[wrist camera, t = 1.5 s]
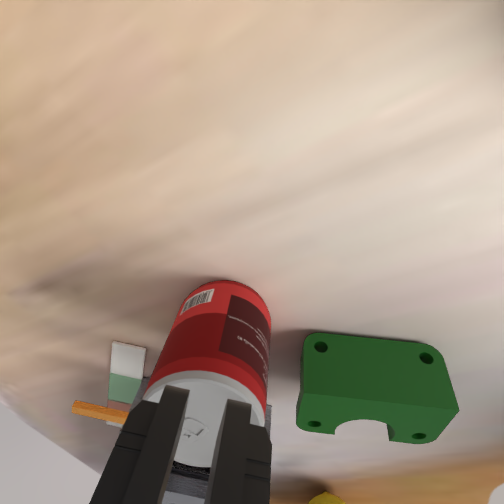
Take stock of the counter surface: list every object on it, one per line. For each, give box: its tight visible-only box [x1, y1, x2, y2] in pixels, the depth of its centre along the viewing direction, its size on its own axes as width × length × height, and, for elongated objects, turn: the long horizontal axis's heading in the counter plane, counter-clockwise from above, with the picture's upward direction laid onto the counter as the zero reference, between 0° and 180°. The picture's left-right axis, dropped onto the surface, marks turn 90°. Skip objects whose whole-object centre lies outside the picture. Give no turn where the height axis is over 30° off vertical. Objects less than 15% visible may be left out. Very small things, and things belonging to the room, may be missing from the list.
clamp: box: [296, 333, 459, 444], centre depth 33 cm, size 12×6×9 cm, turn 80°
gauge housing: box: [120, 377, 271, 504], centre depth 38 cm, size 12×14×8 cm
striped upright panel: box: [107, 341, 146, 428], centre depth 38 cm, size 3×11×1 cm, turn 168°
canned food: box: [142, 280, 271, 467], centre depth 29 cm, size 8×8×11 cm
